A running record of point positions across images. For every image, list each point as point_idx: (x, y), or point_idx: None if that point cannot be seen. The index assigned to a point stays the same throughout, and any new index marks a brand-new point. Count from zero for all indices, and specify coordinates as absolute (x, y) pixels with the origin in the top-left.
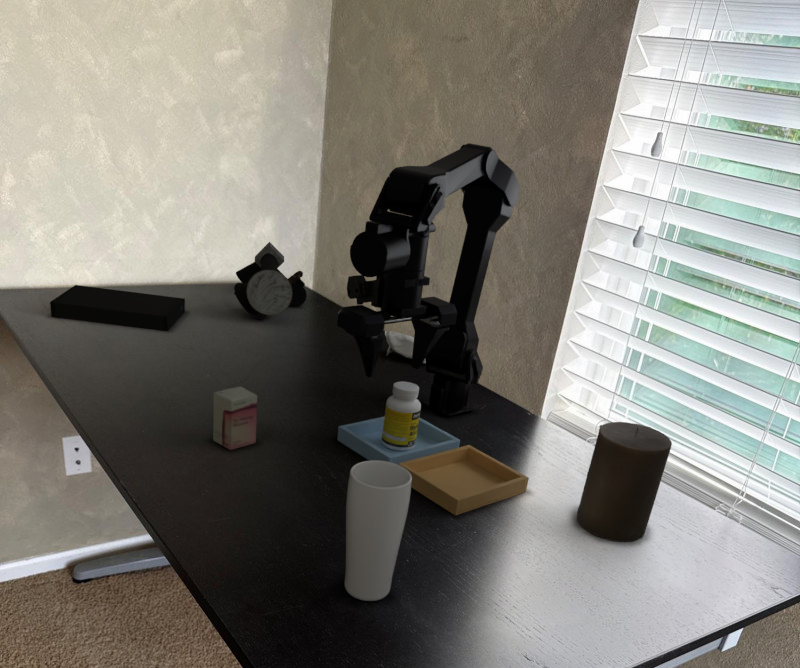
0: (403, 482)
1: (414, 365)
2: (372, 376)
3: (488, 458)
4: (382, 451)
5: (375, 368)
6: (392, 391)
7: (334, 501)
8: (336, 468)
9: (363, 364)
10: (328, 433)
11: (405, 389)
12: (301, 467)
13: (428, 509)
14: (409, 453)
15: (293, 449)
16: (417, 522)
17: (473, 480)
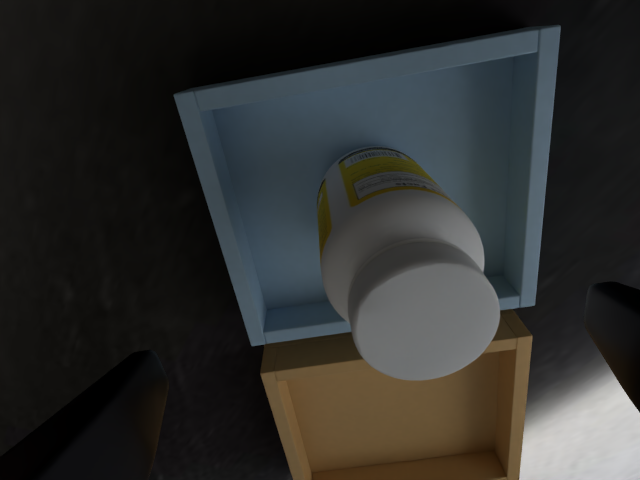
0: None
1: (599, 314)
2: (165, 392)
3: (512, 404)
4: (249, 310)
5: (149, 468)
6: (357, 275)
7: (78, 387)
8: (126, 263)
9: (64, 410)
10: (177, 15)
11: (388, 363)
12: (24, 233)
13: (265, 449)
14: (324, 335)
15: (13, 113)
16: (220, 473)
17: (428, 406)
